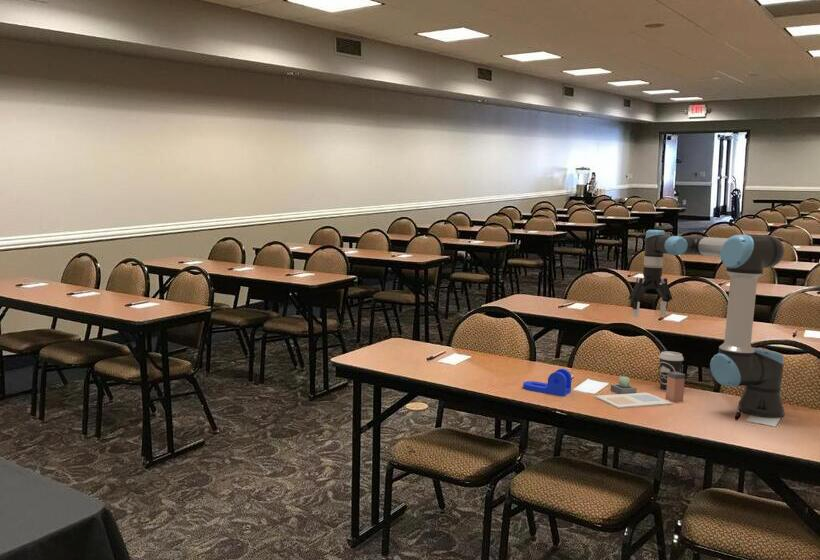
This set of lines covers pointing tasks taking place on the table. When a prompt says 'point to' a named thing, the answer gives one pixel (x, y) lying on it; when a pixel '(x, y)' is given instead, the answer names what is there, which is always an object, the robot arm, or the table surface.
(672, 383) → the lidded container
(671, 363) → the coffee cup
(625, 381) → the button
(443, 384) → the table surface
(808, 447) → the table surface
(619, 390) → the button housing
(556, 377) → the bracket
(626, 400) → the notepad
